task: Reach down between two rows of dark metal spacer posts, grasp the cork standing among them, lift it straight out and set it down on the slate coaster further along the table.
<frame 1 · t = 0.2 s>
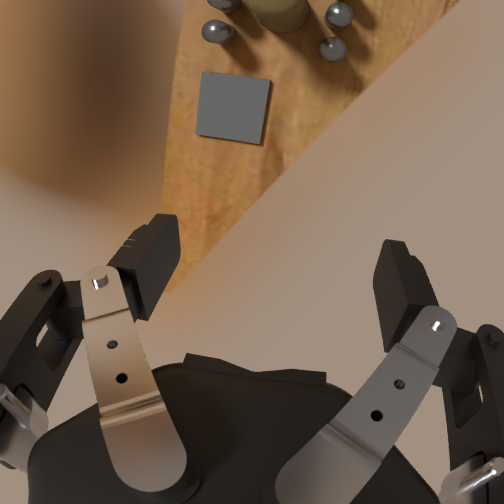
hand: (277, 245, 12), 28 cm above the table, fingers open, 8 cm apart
coaster: (232, 106, 36), on the table
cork: (282, 9, 28), on the table
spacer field: (282, 9, 28), on the table
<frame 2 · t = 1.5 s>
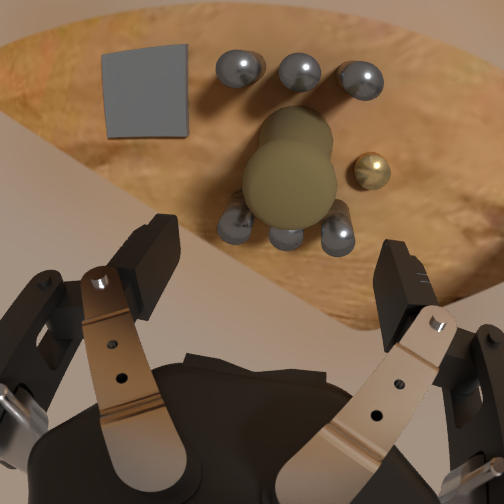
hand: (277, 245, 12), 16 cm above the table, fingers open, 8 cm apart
coaster: (144, 91, 24), on the table
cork: (296, 140, 25), on the table
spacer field: (295, 141, 25), on the table
glossy gold bead: (370, 168, 25), on the table
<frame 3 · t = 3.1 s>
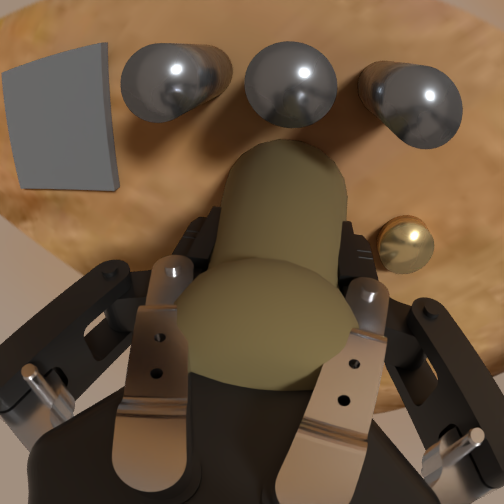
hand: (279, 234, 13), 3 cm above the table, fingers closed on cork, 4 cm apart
coaster: (56, 122, 15), on the table
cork: (285, 197, 16), on the table, touching gripper
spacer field: (285, 199, 16), on the table
glossy gold bead: (402, 238, 16), on the table
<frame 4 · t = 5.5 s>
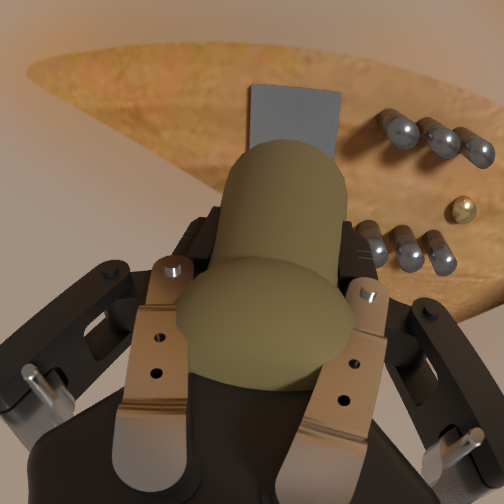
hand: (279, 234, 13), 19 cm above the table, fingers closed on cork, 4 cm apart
coaster: (293, 128, 28), on the table
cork: (285, 197, 16), point 16 cm above the table, touching gripper
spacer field: (415, 185, 29), on the table
glossy gold bead: (461, 207, 30), on the table
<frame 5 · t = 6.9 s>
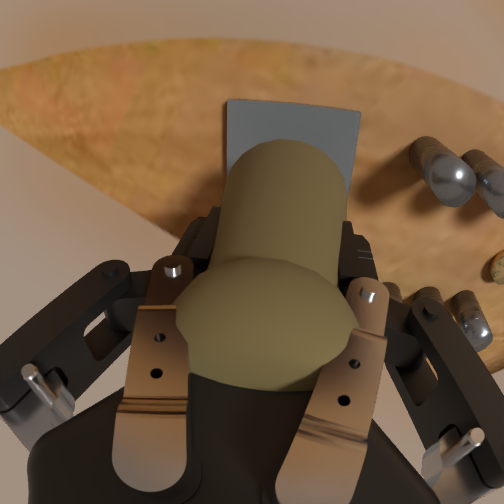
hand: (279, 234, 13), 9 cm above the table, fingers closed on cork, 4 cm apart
coaster: (289, 163, 20), on the table
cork: (285, 197, 16), point 5 cm above the table, touching gripper
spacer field: (451, 239, 21), on the table
glossy gold bead: (501, 262, 22), on the table
when the fingers open (5 cm above the table, at t = 7.9 s): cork drops 1 cm, resting on coaster.
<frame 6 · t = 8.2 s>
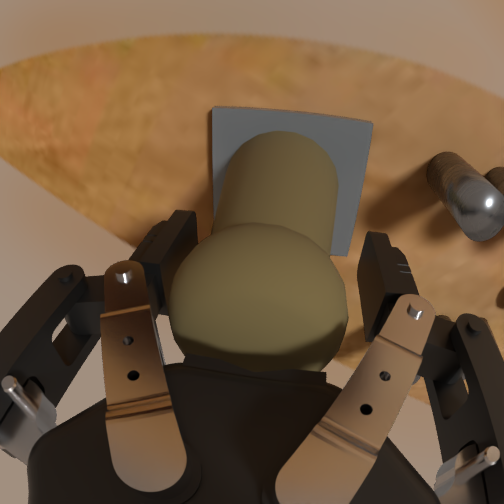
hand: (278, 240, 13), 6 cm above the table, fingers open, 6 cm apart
coaster: (287, 182, 17), on the table
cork: (281, 184, 17), resting on coaster
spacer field: (467, 266, 18), on the table
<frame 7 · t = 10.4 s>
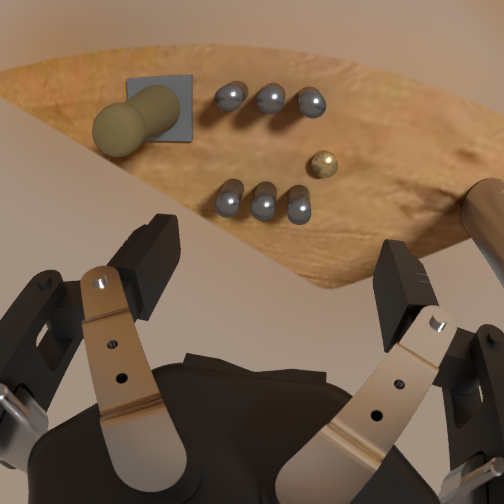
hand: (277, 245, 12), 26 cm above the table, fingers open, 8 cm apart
coaster: (160, 108, 34), on the table
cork: (156, 108, 34), resting on coaster
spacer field: (269, 144, 36), on the table
glossy gold bead: (324, 162, 36), on the table
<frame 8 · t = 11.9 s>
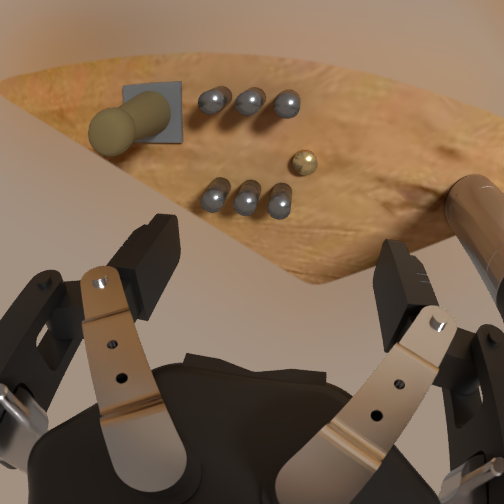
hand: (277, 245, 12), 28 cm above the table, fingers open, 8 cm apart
coaster: (153, 112, 37), on the table
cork: (150, 112, 37), resting on coaster
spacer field: (252, 144, 38), on the table
glossy gold bead: (305, 160, 39), on the table
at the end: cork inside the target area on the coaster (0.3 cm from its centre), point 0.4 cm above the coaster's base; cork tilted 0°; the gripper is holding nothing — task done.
